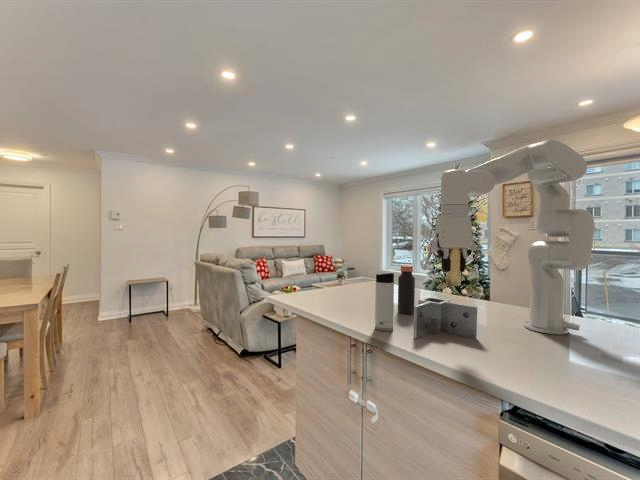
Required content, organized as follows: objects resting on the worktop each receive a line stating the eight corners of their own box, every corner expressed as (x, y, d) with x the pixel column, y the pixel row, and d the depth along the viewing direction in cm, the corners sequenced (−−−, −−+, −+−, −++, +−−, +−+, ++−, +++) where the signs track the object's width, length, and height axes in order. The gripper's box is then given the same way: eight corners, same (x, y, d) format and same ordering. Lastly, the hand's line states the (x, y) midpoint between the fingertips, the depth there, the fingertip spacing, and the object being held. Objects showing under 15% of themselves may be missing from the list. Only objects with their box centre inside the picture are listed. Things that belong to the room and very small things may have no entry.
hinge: (480, 335, 101) (480, 305, 100) (459, 350, 88) (460, 315, 88) (428, 324, 113) (428, 296, 113) (403, 335, 100) (404, 304, 100)
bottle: (416, 315, 126) (417, 266, 126) (399, 314, 126) (400, 266, 126) (411, 310, 133) (412, 265, 132) (396, 310, 133) (396, 265, 132)
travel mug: (383, 333, 102) (384, 274, 102) (371, 327, 108) (372, 271, 108) (397, 330, 105) (398, 273, 105) (385, 325, 111) (386, 270, 111)
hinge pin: (462, 284, 93) (463, 245, 93) (457, 286, 90) (458, 246, 90) (449, 283, 96) (449, 245, 96) (444, 285, 93) (444, 245, 93)
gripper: (475, 212, 96) (474, 269, 97) (422, 212, 96) (422, 270, 97) (488, 210, 89) (487, 273, 89) (431, 210, 89) (430, 273, 89)
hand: (453, 270), depth 93 cm, fingers closed on hinge pin, 4 cm apart
